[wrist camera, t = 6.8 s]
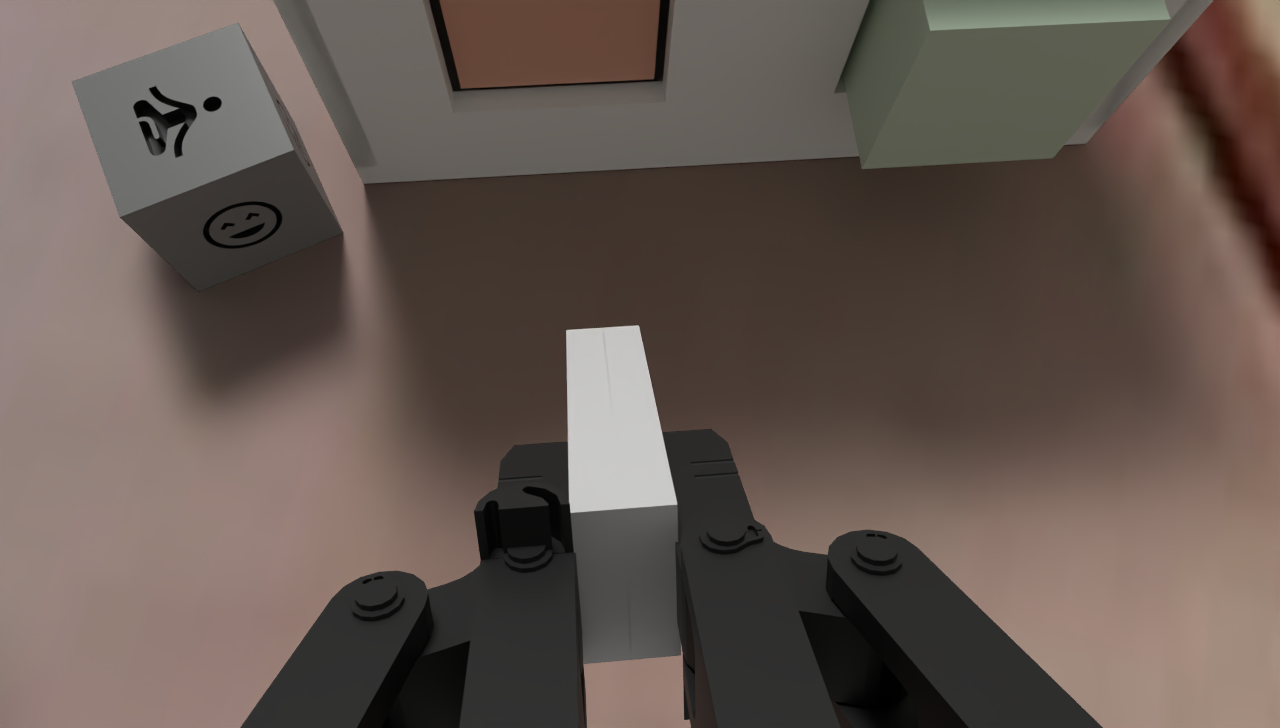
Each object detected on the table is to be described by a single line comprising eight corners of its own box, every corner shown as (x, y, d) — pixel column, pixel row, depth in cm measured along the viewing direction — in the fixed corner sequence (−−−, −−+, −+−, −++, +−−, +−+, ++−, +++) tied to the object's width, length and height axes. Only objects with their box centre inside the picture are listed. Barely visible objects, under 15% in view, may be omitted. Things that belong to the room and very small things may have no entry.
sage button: (861, 169, 26) (930, 30, 21) (825, -14, 29) (878, -182, 23) (1052, 158, 27) (1170, 19, 21) (1001, -21, 29) (1095, -189, 24)
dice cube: (154, 174, 30) (71, 81, 26) (293, 121, 31) (238, 22, 26) (199, 292, 29) (119, 216, 24) (343, 233, 30) (293, 149, 25)
